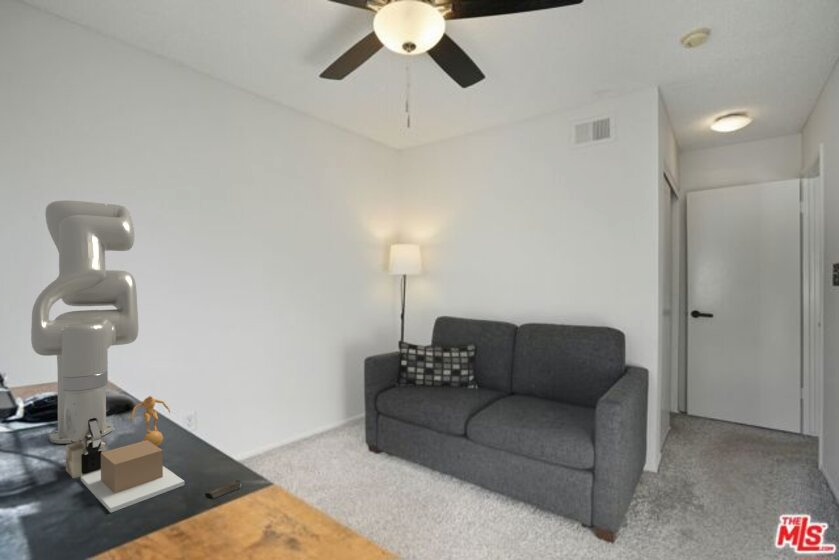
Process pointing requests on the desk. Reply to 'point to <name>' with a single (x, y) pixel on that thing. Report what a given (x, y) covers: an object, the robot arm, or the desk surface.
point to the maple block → (76, 458)
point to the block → (224, 489)
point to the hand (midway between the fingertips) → (85, 465)
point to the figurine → (149, 403)
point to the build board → (132, 492)
